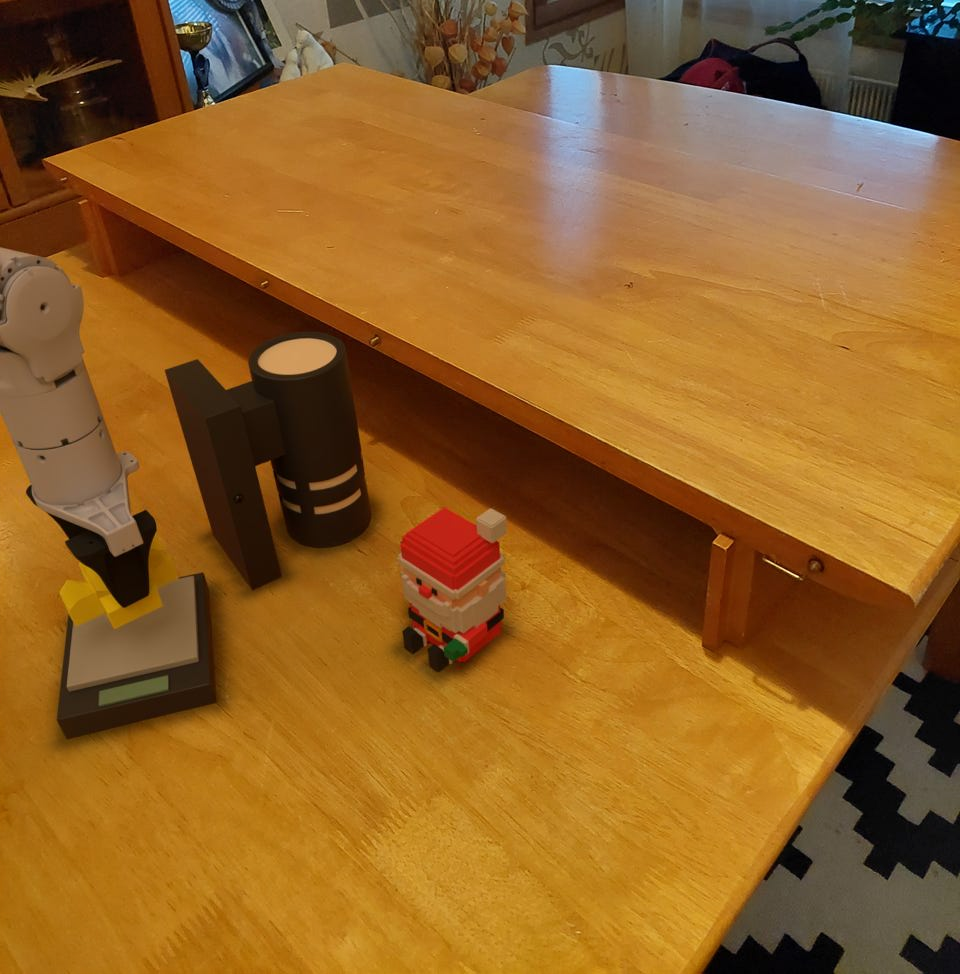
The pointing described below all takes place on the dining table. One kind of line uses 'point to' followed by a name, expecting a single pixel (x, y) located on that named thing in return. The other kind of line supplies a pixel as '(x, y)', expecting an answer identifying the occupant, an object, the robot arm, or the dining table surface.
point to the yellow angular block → (97, 599)
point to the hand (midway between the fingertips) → (116, 577)
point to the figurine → (453, 584)
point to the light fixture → (276, 449)
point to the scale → (139, 663)
